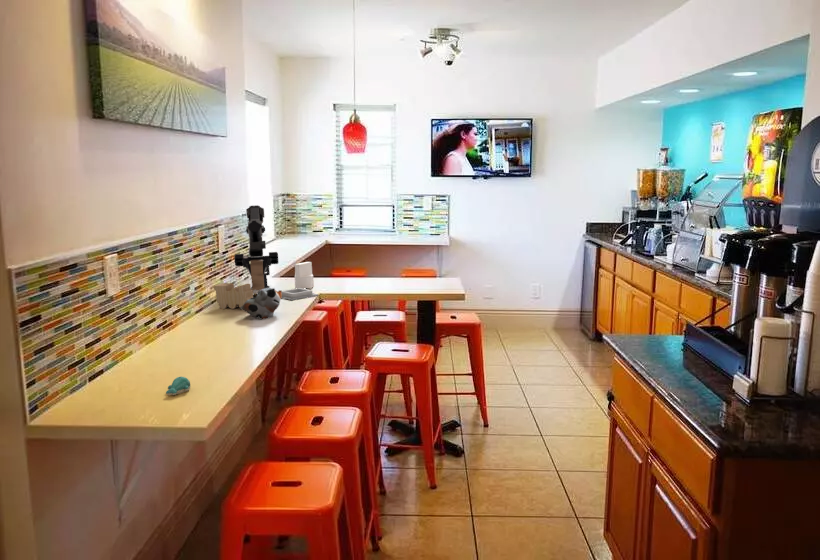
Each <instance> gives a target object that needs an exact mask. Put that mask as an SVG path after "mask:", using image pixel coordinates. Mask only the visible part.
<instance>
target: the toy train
mask: <svg viewBox="0 0 820 560" xmlns="http://www.w3.org/2000/svg"><path fill="white" fill-rule="evenodd" d="M212 287H213V289H214V291H215V298H216V303H217V305H218V307H219V308H220V309H222V308H224V309H227V308H229V309H232V310H233V309H236V308H240V307H241V306H243V304H244V303H245V302H246V301H247V300H249V299H250V298H253V294H254V290H252V288H251V287H252V284H251V283H245V284H242V285H239V286H236V287H235V285H234V283H230V282H229V283H227V282H226V283H223V282H222V283H219V284H215V285H213V286H212Z"/></svg>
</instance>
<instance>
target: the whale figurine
mask: <svg viewBox="0 0 820 560" xmlns="http://www.w3.org/2000/svg"><path fill="white" fill-rule="evenodd" d="M190 389H191V381H190V380H189V378H187V377H185V376H177V377H176V378H174V379H173V381H172V383H171V384H170V385H168V386H167V390H166V391H165V394H166V395H168V396H176V395H179V394H183V393H186V392H188V391H190Z"/></svg>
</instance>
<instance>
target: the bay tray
mask: <svg viewBox="0 0 820 560" xmlns="http://www.w3.org/2000/svg"><path fill="white" fill-rule="evenodd" d="M281 294H282V297H281V299H283V298H284V299H283V300H287V299H288V301H291V300H292V301H296V299H297V300H302V299H301V298H303V299H307V297H308V298H313V297H318V296H319V294H318V293H313V290H310V289H302V288H297V289H296V288H292V289H285V290H282V292H281Z"/></svg>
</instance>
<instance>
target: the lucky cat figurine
mask: <svg viewBox="0 0 820 560" xmlns="http://www.w3.org/2000/svg"><path fill="white" fill-rule="evenodd" d="M282 291H283V290H278V291H277V290H276V288H273V287H267V288H264V289H262V290H258V293H256V292H253V298H250V299H249V300H247V301H246V302H245V303H244V304H243V306H241V307H239V310H241V311H244V312H245V313H247V314H248V315H249V316H252V317H254V318H259V320H267V319H270V318H273V316H274V315H275V314H274V313H275V311H276V310H277V309H278V308H279V306H280V305H281V304H280V302H281V300H282V298H281V297H282V294H281V292H282Z"/></svg>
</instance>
